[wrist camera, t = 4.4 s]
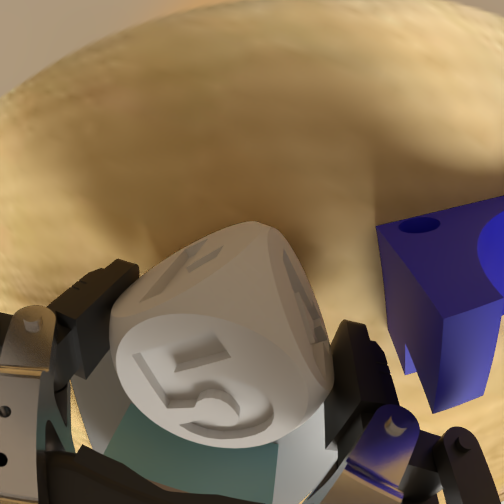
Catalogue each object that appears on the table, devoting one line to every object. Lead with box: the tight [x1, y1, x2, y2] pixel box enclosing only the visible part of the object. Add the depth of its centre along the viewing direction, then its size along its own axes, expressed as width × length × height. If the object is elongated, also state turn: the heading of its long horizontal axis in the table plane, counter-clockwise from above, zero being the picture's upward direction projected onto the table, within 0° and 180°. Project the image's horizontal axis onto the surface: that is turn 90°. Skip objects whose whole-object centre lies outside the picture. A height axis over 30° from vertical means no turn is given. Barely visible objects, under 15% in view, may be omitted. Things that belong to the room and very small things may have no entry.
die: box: [109, 221, 334, 448], centre depth 9 cm, size 5×5×5 cm
